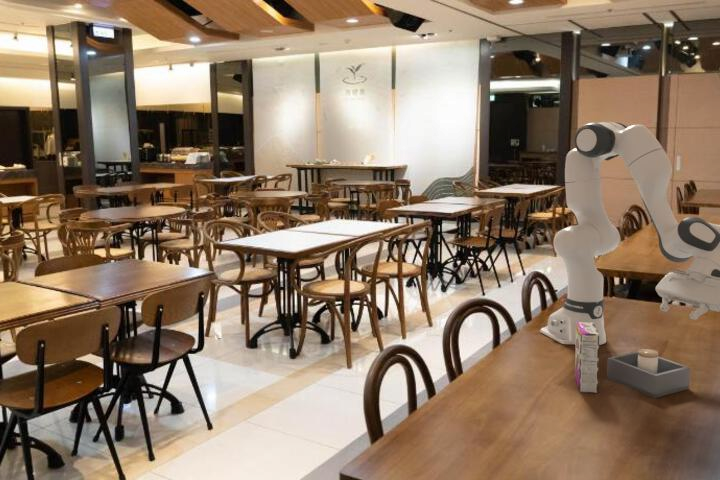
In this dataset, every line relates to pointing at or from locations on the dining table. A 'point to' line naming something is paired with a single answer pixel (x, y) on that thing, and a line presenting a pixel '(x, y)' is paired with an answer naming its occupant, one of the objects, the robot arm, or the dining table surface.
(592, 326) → the candy bar box
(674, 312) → the dining table surface
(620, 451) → the dining table surface
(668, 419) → the dining table surface
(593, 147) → the robot arm
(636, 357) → the tote
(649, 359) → the jar
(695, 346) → the dining table surface
